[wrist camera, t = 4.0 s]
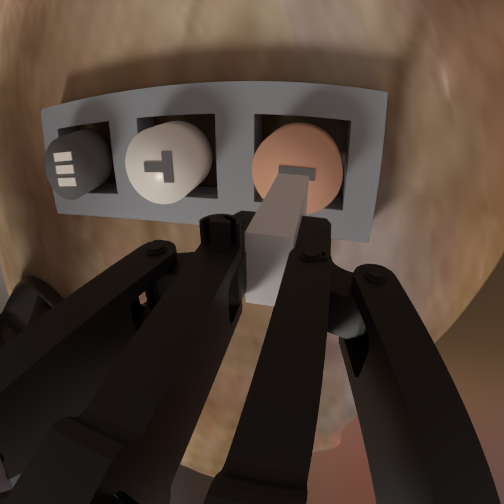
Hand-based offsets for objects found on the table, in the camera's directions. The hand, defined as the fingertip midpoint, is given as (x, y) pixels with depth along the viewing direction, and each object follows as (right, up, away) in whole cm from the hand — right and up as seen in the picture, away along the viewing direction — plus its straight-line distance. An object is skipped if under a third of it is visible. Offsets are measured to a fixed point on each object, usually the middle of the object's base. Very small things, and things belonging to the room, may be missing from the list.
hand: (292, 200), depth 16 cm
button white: (-8, +5, +9) cm, 14 cm away
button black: (-18, +7, +11) cm, 22 cm away
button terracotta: (+2, +4, +8) cm, 9 cm away
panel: (-7, +7, +12) cm, 15 cm away
